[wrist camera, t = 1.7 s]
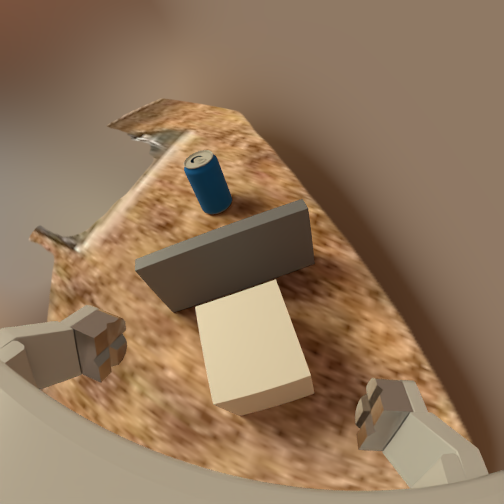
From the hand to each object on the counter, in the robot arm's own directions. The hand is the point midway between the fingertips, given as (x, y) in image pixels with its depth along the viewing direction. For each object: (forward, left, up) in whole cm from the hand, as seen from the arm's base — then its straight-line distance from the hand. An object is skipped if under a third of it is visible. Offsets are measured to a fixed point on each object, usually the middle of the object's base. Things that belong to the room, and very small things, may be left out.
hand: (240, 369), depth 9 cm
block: (+10, -4, -29) cm, 31 cm away
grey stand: (+24, -14, -29) cm, 40 cm away
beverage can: (+38, -23, -30) cm, 54 cm away
